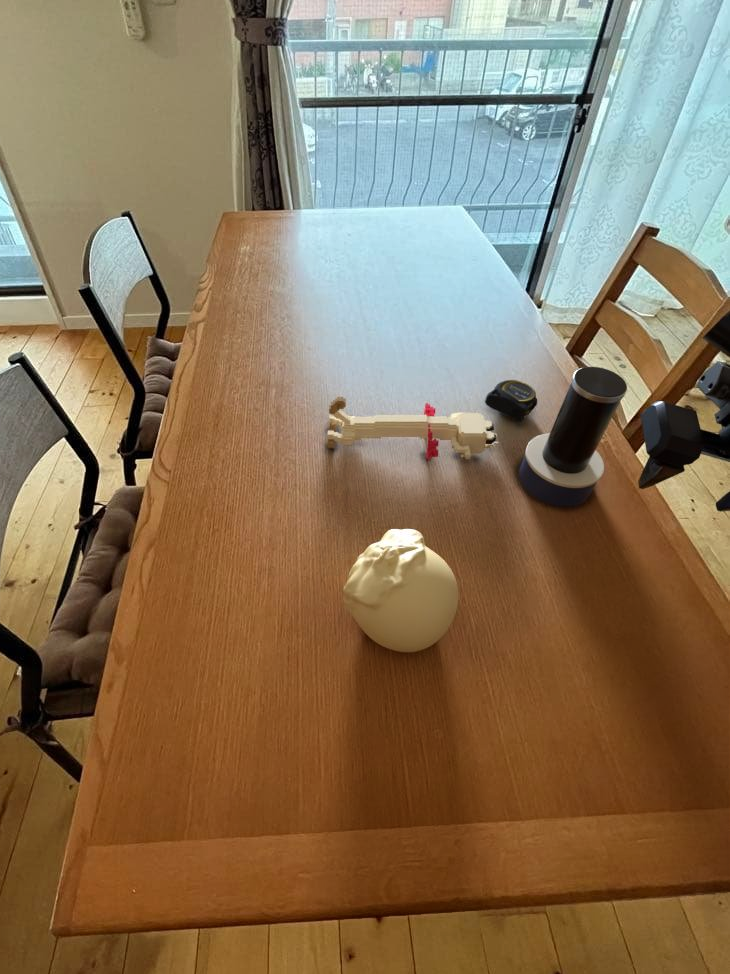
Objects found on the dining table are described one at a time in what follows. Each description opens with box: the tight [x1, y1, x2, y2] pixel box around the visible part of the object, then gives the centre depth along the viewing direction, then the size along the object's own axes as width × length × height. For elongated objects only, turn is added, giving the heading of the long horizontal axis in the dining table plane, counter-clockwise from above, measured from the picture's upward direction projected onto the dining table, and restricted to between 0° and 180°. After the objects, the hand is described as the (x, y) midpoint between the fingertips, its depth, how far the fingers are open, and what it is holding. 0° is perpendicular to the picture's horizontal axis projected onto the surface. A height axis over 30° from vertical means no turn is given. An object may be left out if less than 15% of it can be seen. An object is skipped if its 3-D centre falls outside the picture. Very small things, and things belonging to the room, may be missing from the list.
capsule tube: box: [542, 366, 628, 474], centre depth 71 cm, size 6×6×13 cm
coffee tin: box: [518, 433, 605, 508], centre depth 78 cm, size 10×10×4 cm
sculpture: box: [342, 528, 459, 653], centre depth 60 cm, size 12×12×11 cm
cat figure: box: [326, 396, 499, 461], centre depth 81 cm, size 10×9×25 cm
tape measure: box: [484, 379, 538, 423], centre depth 89 cm, size 7×7×4 cm
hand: (678, 496), depth 61 cm, fingers open, 9 cm apart
